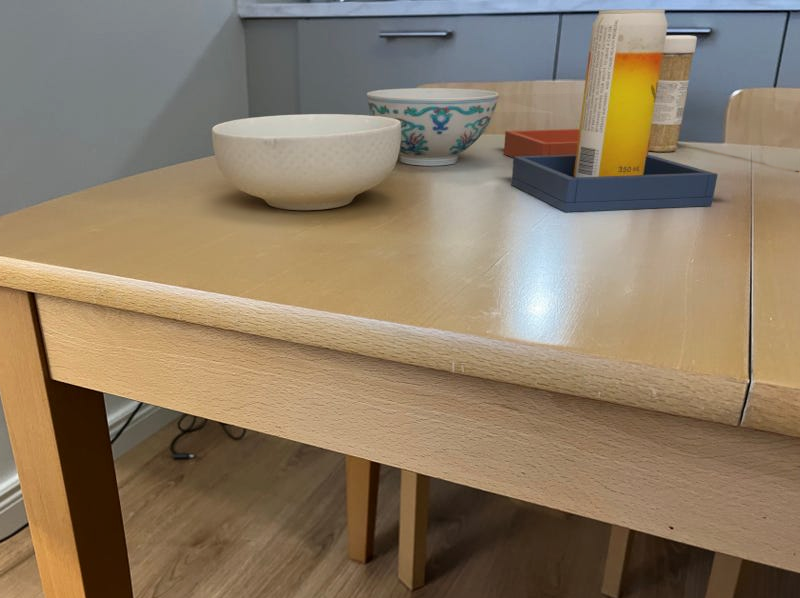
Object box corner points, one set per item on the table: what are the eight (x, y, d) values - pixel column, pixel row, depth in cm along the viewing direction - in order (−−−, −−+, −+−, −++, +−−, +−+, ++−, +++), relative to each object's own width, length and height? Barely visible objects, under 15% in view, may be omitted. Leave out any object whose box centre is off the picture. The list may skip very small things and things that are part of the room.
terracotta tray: (598, 150, 96) (601, 128, 95) (646, 165, 85) (650, 140, 84) (503, 154, 94) (505, 130, 93) (540, 169, 84) (543, 143, 83)
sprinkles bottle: (653, 146, 99) (672, 35, 93) (685, 150, 95) (705, 35, 90) (631, 149, 97) (648, 35, 91) (662, 153, 93) (682, 35, 88)
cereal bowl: (292, 178, 80) (290, 109, 77) (431, 195, 71) (435, 117, 68) (177, 207, 67) (170, 125, 65) (329, 233, 59) (329, 139, 56)
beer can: (654, 187, 70) (684, 9, 64) (613, 195, 67) (641, 9, 61) (599, 177, 74) (622, 11, 68) (558, 184, 71) (579, 10, 65)
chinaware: (414, 177, 80) (417, 100, 77) (342, 158, 92) (342, 91, 89) (520, 164, 87) (527, 94, 84) (440, 148, 99) (443, 86, 96)
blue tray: (637, 180, 77) (641, 152, 76) (711, 206, 66) (718, 173, 65) (510, 184, 76) (513, 156, 75) (564, 212, 64) (569, 179, 63)
